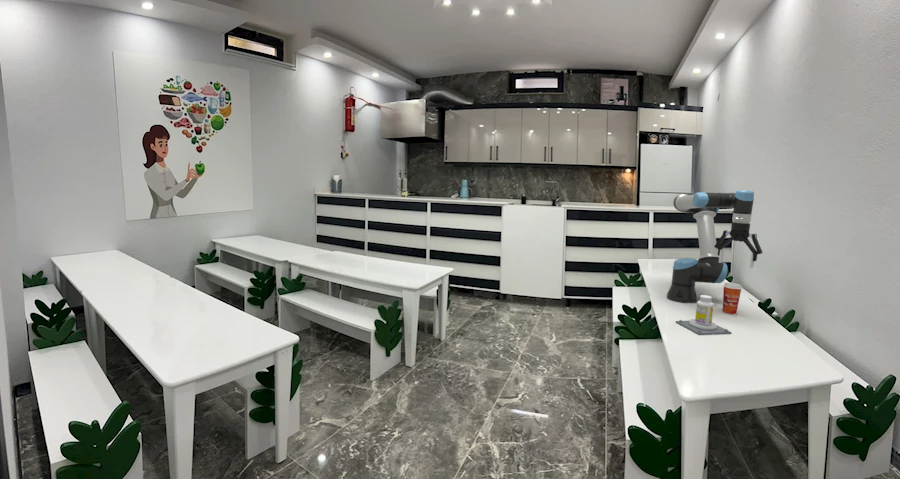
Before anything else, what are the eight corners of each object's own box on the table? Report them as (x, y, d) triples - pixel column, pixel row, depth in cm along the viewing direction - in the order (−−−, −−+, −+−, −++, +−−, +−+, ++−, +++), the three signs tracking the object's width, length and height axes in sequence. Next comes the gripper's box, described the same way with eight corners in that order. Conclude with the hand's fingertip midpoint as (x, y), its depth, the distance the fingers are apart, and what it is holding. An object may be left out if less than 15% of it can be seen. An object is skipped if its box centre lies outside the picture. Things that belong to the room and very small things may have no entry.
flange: (675, 322, 210) (676, 318, 210) (705, 321, 212) (706, 317, 212) (698, 335, 194) (699, 330, 194) (731, 333, 197) (731, 328, 196)
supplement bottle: (707, 321, 206) (710, 294, 204) (714, 326, 200) (717, 298, 197) (692, 320, 207) (695, 294, 205) (698, 325, 200) (701, 298, 198)
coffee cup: (721, 313, 225) (725, 285, 223) (718, 308, 233) (722, 281, 230) (740, 315, 222) (744, 287, 220) (737, 311, 230) (740, 283, 227)
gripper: (710, 219, 220) (705, 261, 224) (768, 225, 201) (762, 270, 204) (716, 219, 225) (711, 259, 228) (774, 224, 205) (767, 268, 209)
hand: (735, 265), depth 216 cm, fingers open, 13 cm apart
